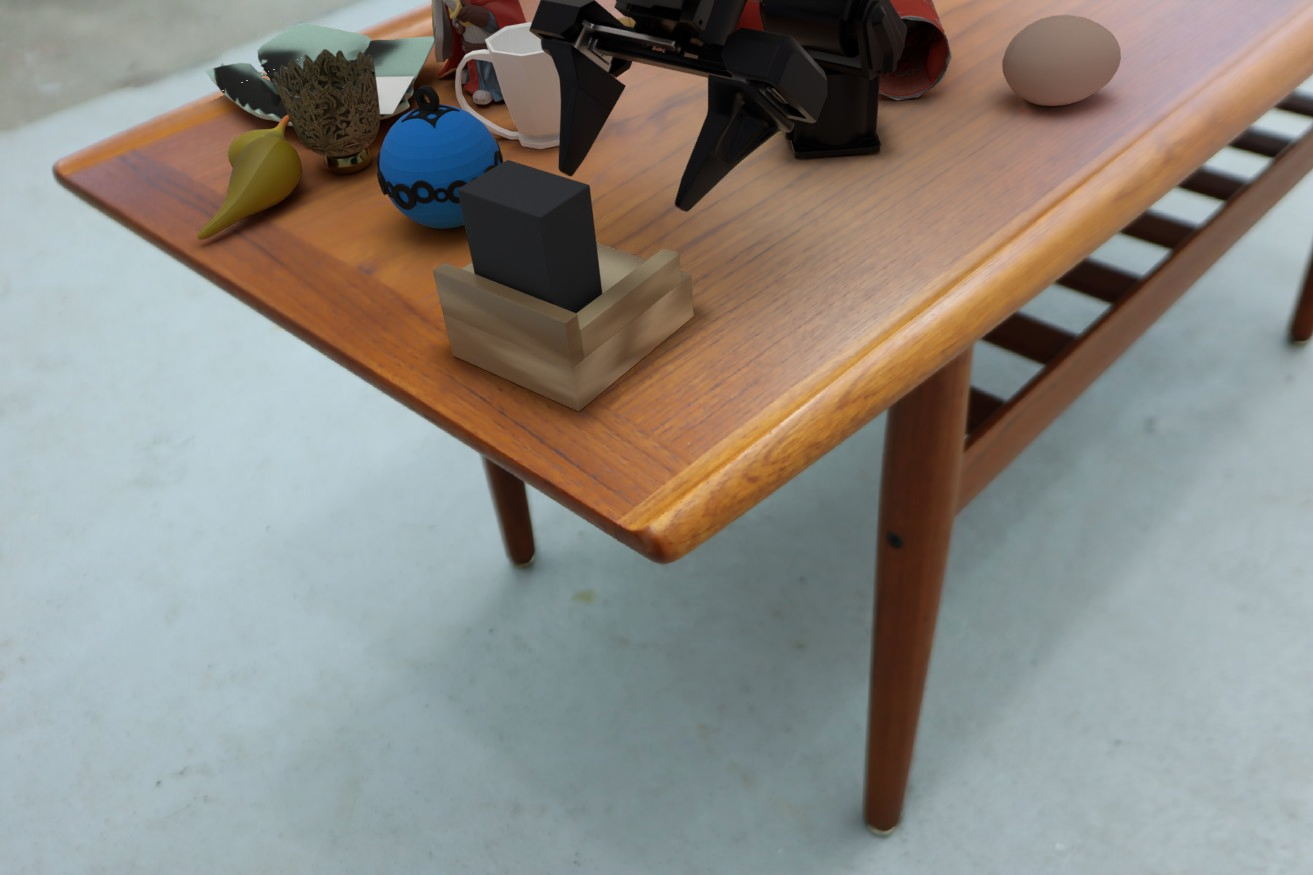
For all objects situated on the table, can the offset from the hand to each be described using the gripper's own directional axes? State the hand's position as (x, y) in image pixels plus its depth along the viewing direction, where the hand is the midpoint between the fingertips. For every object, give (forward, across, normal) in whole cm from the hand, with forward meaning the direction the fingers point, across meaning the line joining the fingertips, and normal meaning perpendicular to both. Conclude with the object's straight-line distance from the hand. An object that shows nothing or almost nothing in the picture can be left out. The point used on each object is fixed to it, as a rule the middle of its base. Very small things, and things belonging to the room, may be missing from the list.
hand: (620, 190), depth 65 cm
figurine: (-8, -32, +17) cm, 37 cm away
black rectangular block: (+8, 0, -3) cm, 9 cm away
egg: (-22, +7, +28) cm, 37 cm away
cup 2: (-4, -22, +14) cm, 26 cm away
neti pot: (+5, -28, -1) cm, 29 cm away
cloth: (-4, -44, +9) cm, 45 cm away
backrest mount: (+9, 0, +1) cm, 9 cm away
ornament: (+5, -17, +4) cm, 18 cm away
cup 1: (+4, -30, +5) cm, 31 cm away
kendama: (-19, -23, +29) cm, 41 cm away
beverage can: (-21, -3, +33) cm, 39 cm away
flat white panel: (-3, -34, +8) cm, 35 cm away
